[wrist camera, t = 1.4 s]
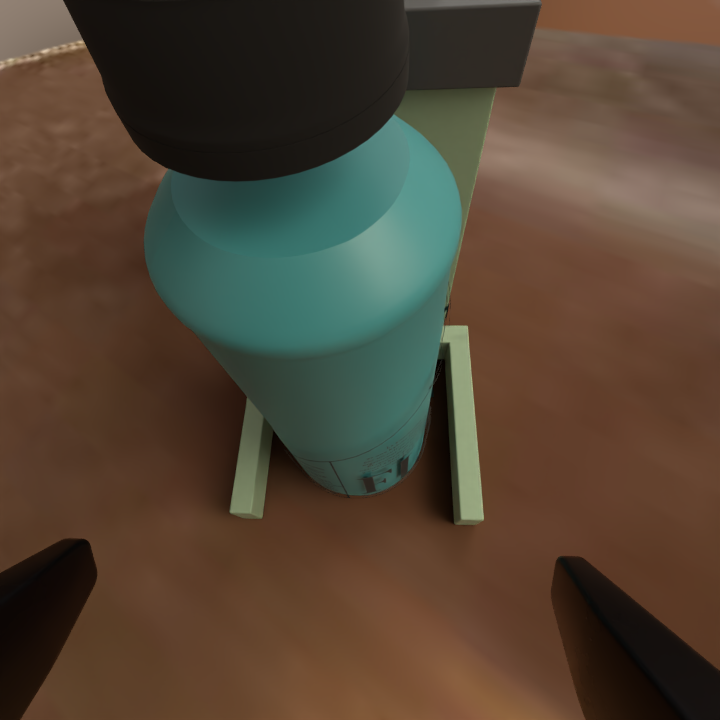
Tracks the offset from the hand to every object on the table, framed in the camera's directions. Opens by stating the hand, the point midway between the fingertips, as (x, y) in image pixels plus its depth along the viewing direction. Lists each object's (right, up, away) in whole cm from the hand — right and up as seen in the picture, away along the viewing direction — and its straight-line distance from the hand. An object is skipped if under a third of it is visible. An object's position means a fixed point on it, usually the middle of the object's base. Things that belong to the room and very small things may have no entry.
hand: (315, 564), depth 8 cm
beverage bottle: (+1, 0, +14) cm, 14 cm away
